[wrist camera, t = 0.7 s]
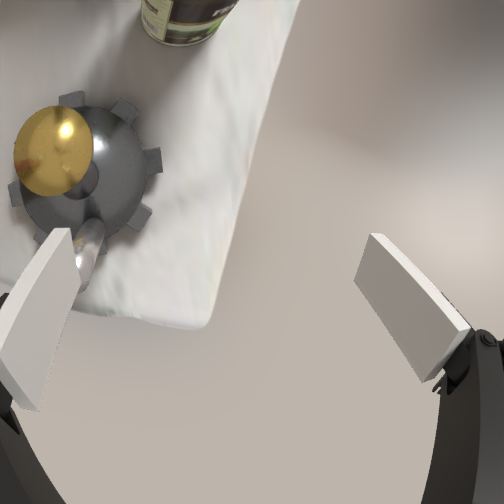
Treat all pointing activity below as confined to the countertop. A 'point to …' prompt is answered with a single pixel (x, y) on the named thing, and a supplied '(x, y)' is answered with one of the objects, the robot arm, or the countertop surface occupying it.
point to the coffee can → (183, 19)
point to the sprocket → (83, 174)
